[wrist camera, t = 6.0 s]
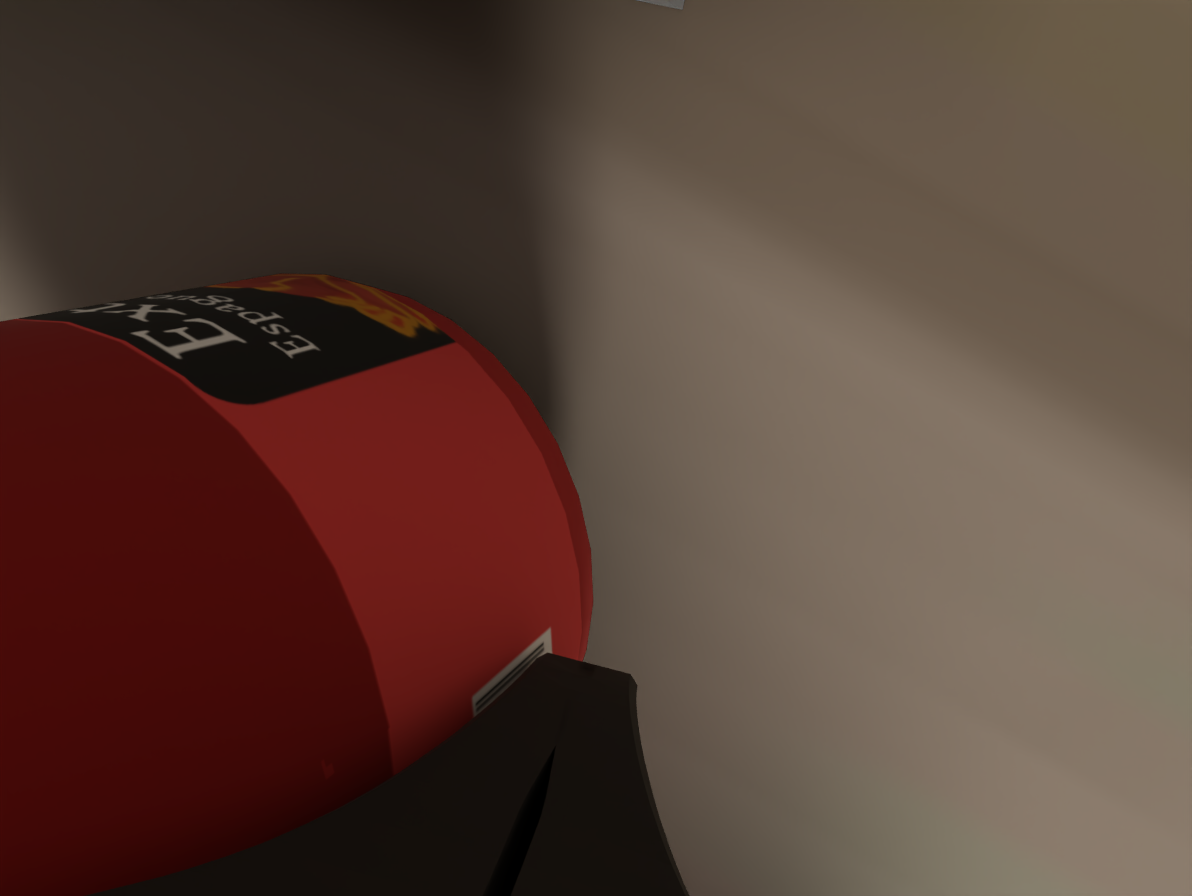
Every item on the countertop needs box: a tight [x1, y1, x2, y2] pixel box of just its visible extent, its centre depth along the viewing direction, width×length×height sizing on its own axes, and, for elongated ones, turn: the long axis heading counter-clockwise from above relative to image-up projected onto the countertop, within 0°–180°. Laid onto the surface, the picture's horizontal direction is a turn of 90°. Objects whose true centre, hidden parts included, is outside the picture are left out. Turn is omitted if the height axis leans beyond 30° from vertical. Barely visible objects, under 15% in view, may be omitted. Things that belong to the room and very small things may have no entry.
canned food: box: [0, 274, 593, 896], centre depth 11 cm, size 8×8×11 cm
